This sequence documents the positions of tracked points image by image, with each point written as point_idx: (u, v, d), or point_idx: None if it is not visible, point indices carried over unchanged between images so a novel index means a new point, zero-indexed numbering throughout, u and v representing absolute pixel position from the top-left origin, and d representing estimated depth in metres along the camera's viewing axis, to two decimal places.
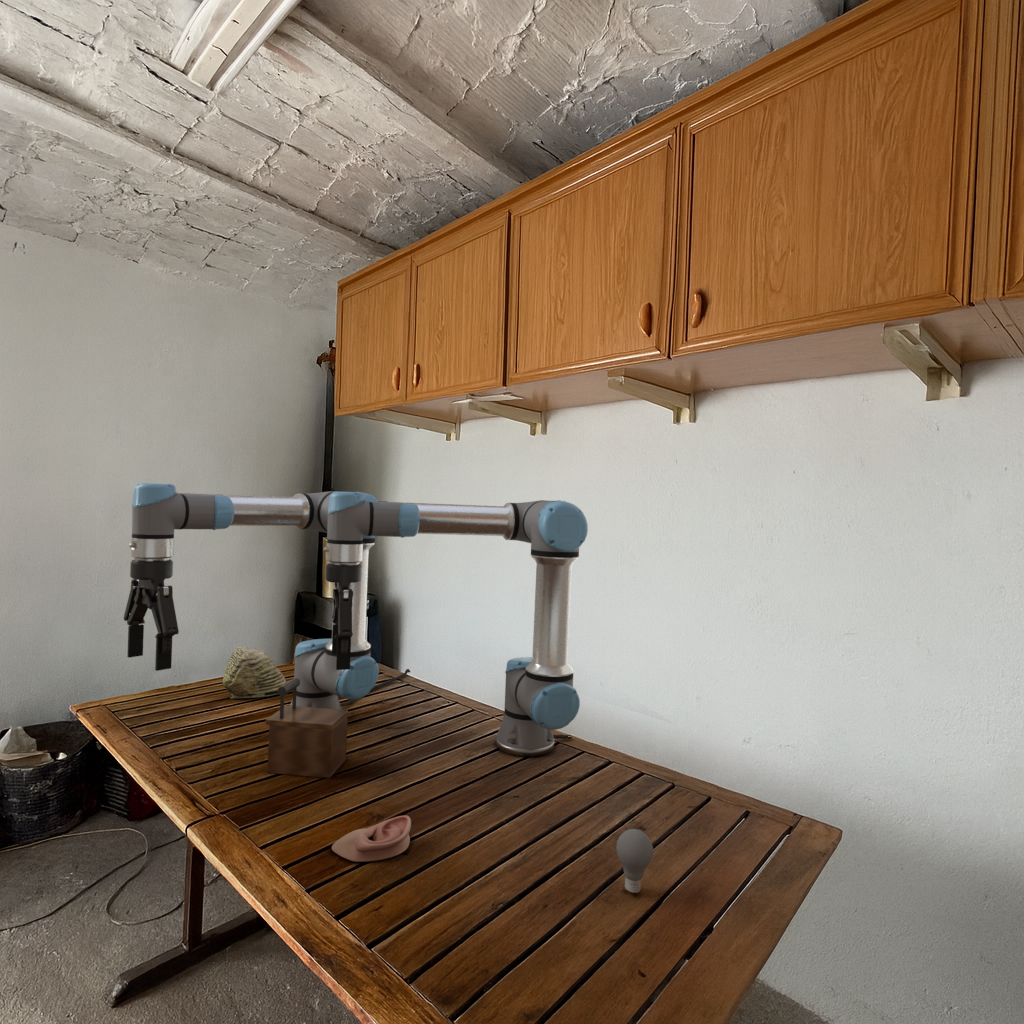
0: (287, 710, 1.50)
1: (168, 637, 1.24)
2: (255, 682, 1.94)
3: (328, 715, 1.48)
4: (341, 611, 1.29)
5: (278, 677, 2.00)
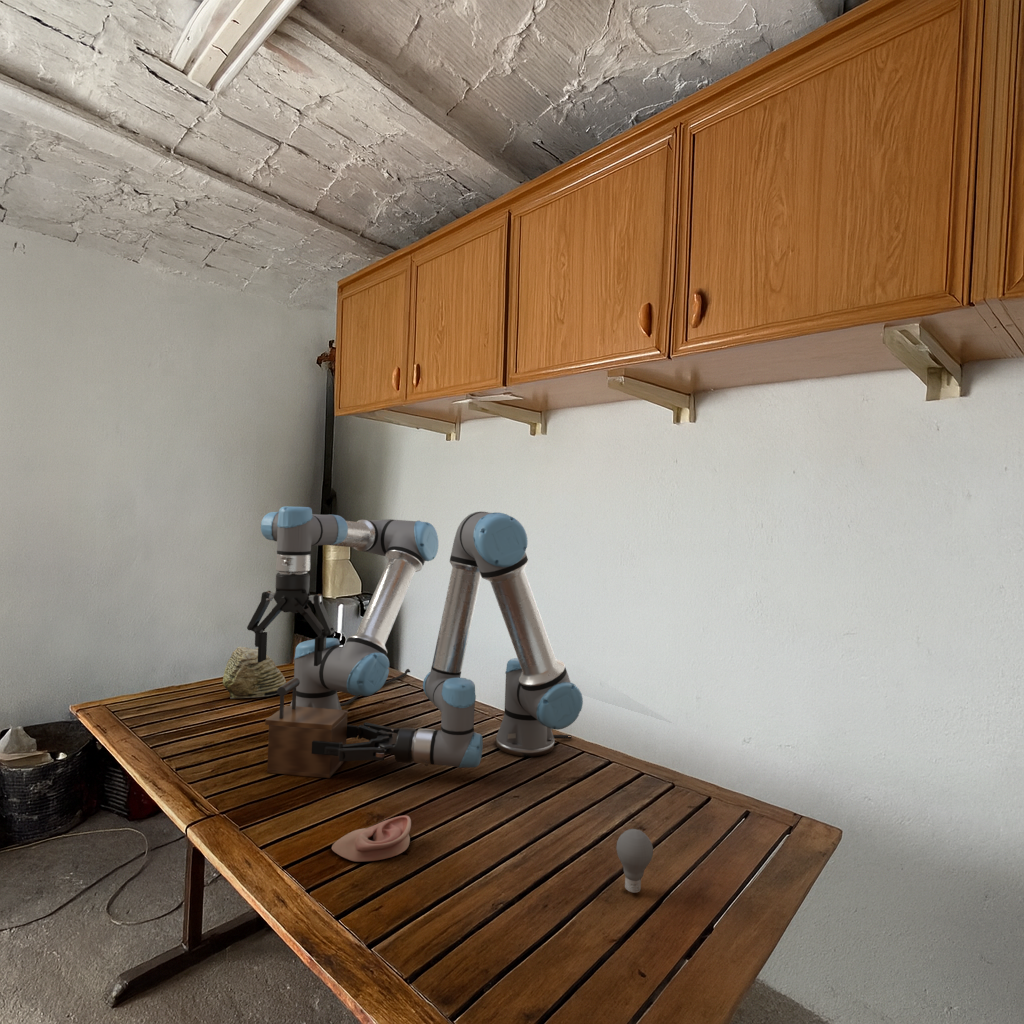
0: (287, 710, 1.50)
1: (325, 636, 1.48)
2: (255, 682, 1.94)
3: (328, 715, 1.48)
4: None
5: (278, 677, 2.00)
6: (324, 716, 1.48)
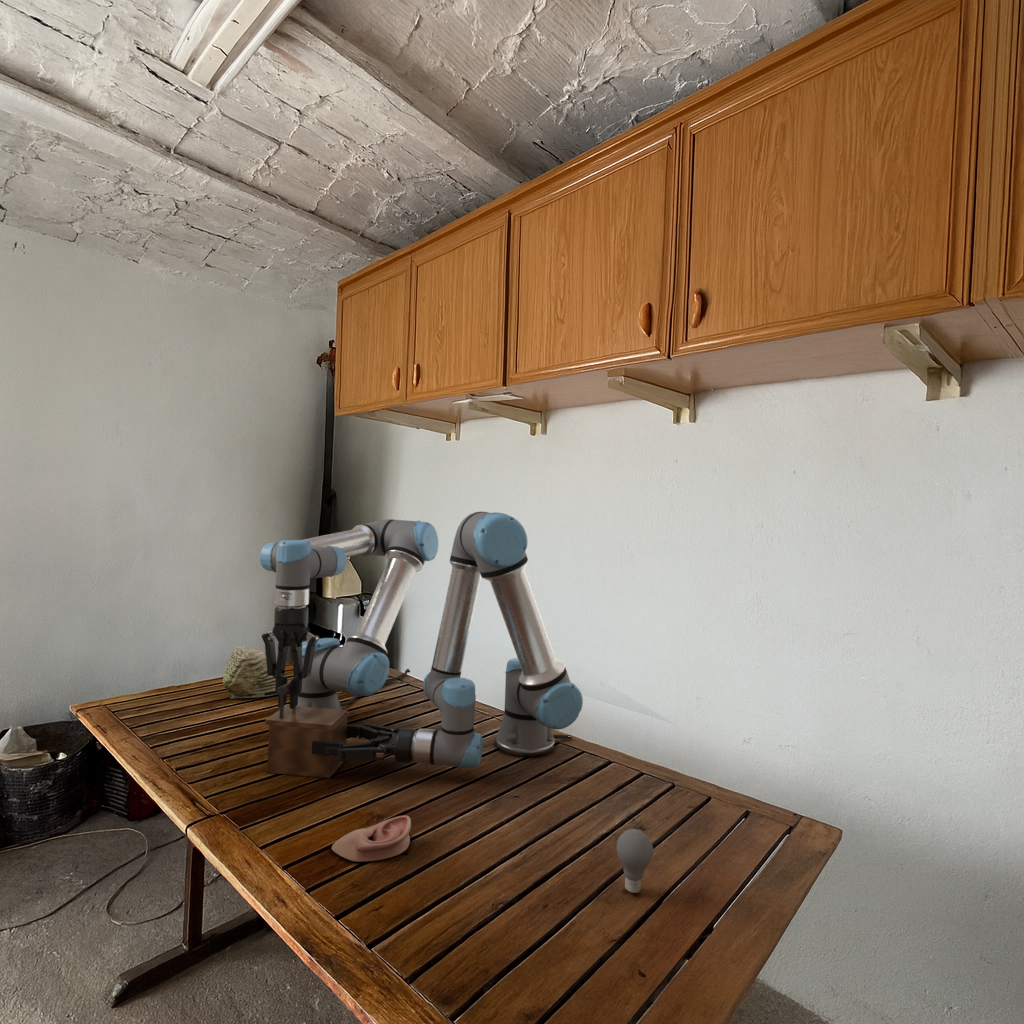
0: (287, 710, 1.50)
1: (301, 679, 1.48)
2: (255, 682, 1.94)
3: (328, 715, 1.48)
4: None
5: None
6: (324, 716, 1.48)
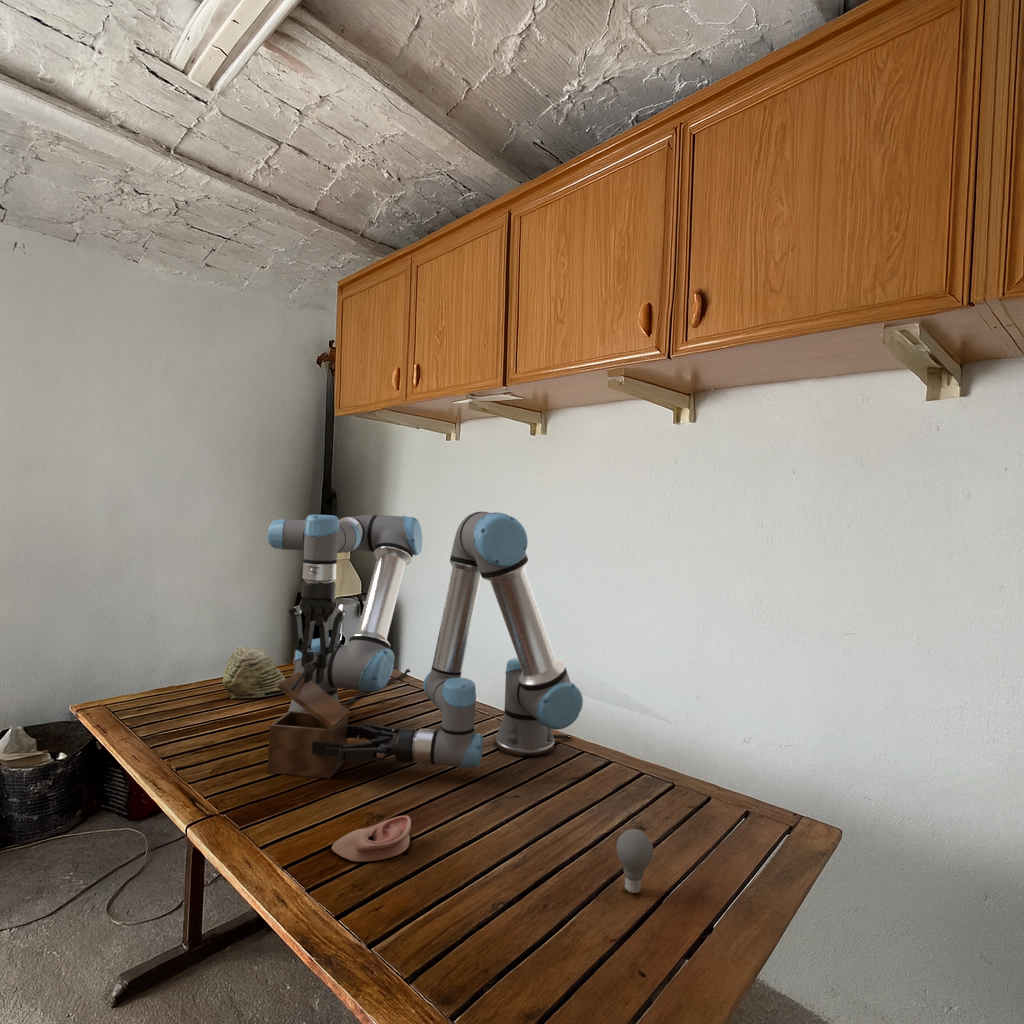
0: None
1: (328, 654, 1.48)
2: (255, 682, 1.94)
3: (332, 709, 1.48)
4: None
5: (278, 677, 2.00)
6: (329, 708, 1.47)
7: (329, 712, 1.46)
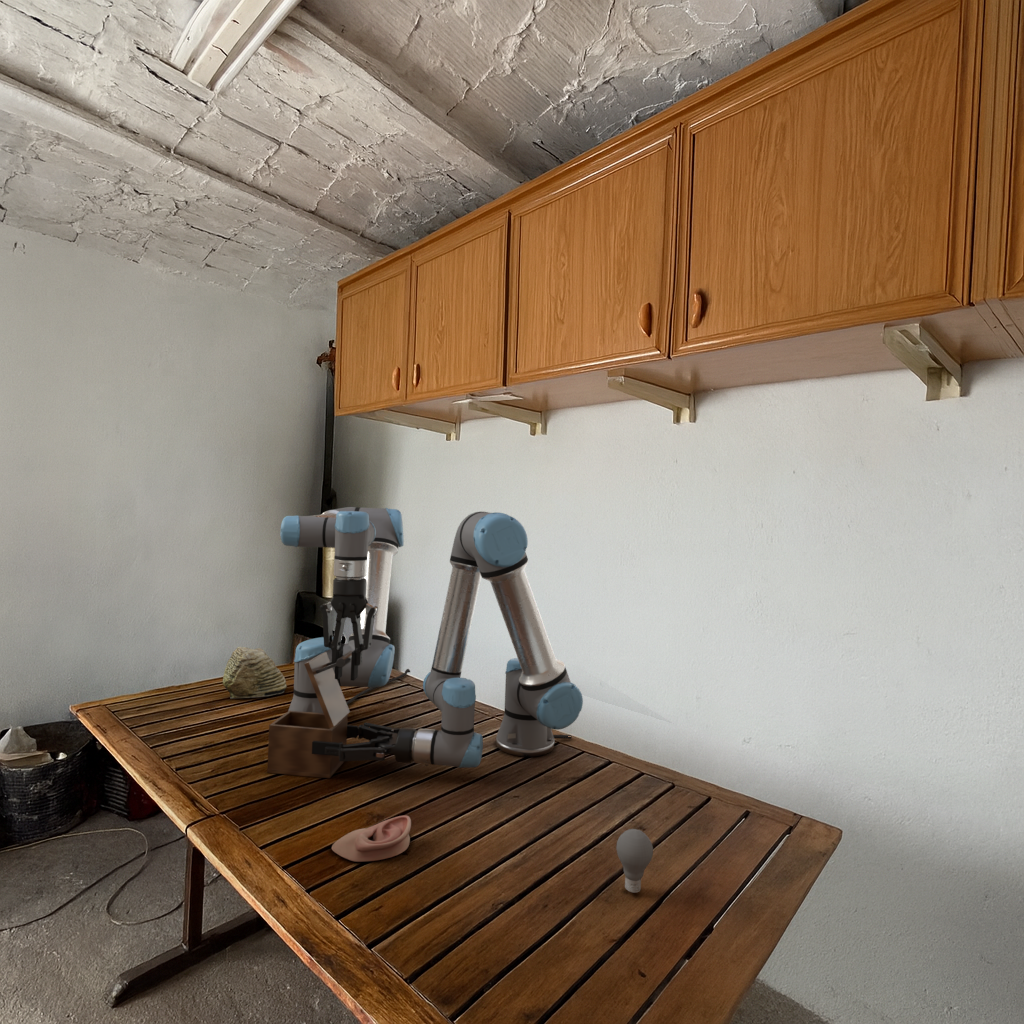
0: (323, 663, 1.49)
1: (362, 651, 1.47)
2: (255, 682, 1.94)
3: (338, 706, 1.48)
4: None
5: (278, 677, 2.00)
6: (336, 704, 1.47)
7: (335, 709, 1.46)
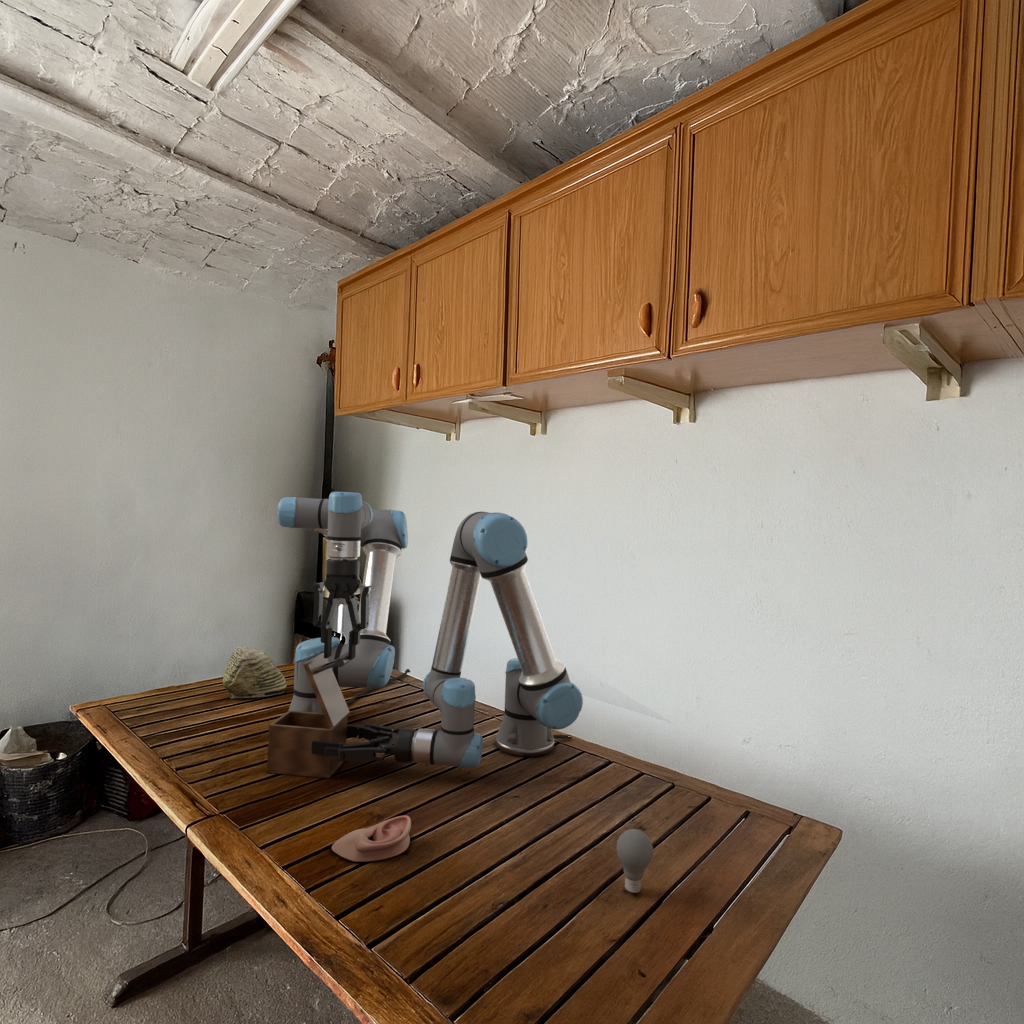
0: (322, 664, 1.49)
1: (360, 630, 1.47)
2: (255, 682, 1.94)
3: (337, 706, 1.48)
4: None
5: (278, 677, 2.00)
6: (335, 704, 1.47)
7: (334, 709, 1.46)
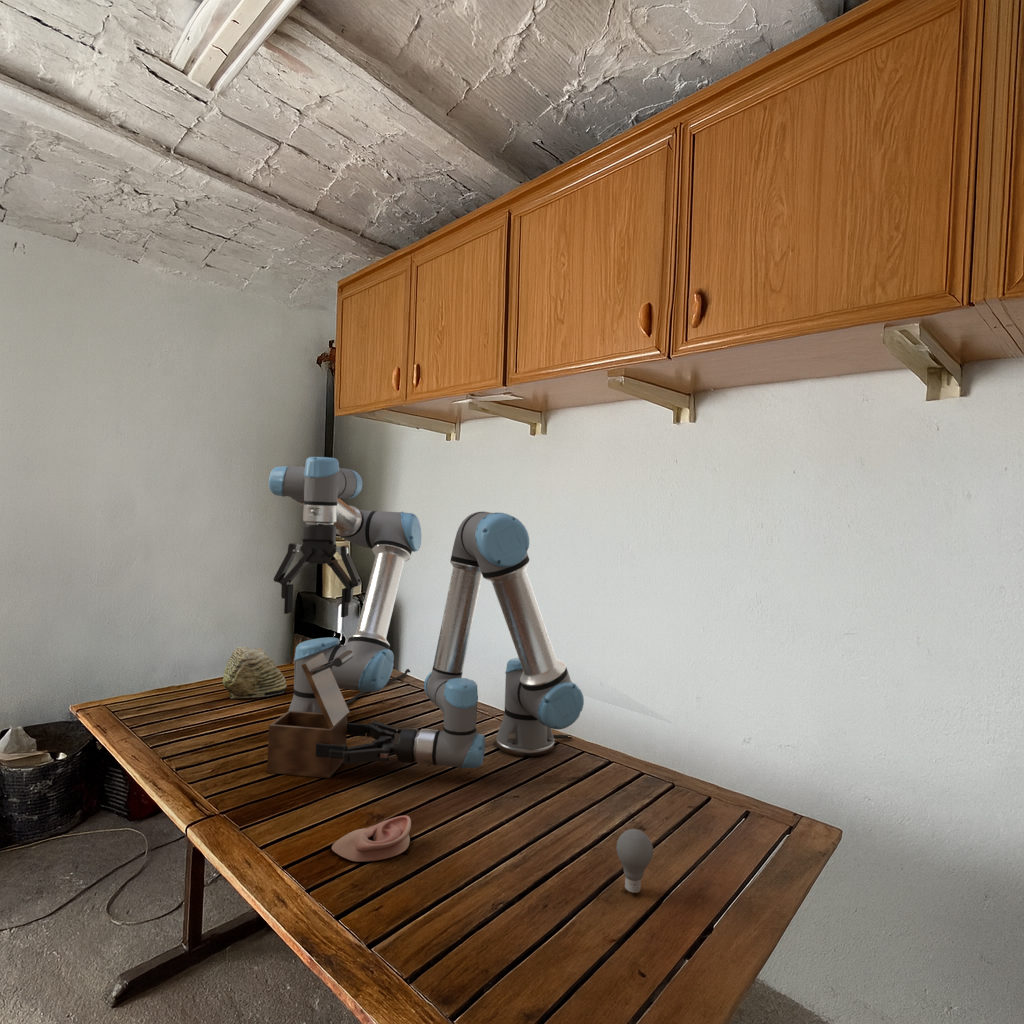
0: (321, 664, 1.49)
1: (352, 588, 1.47)
2: (255, 682, 1.94)
3: (337, 705, 1.48)
4: None
5: (278, 677, 2.00)
6: (335, 704, 1.47)
7: (334, 709, 1.46)
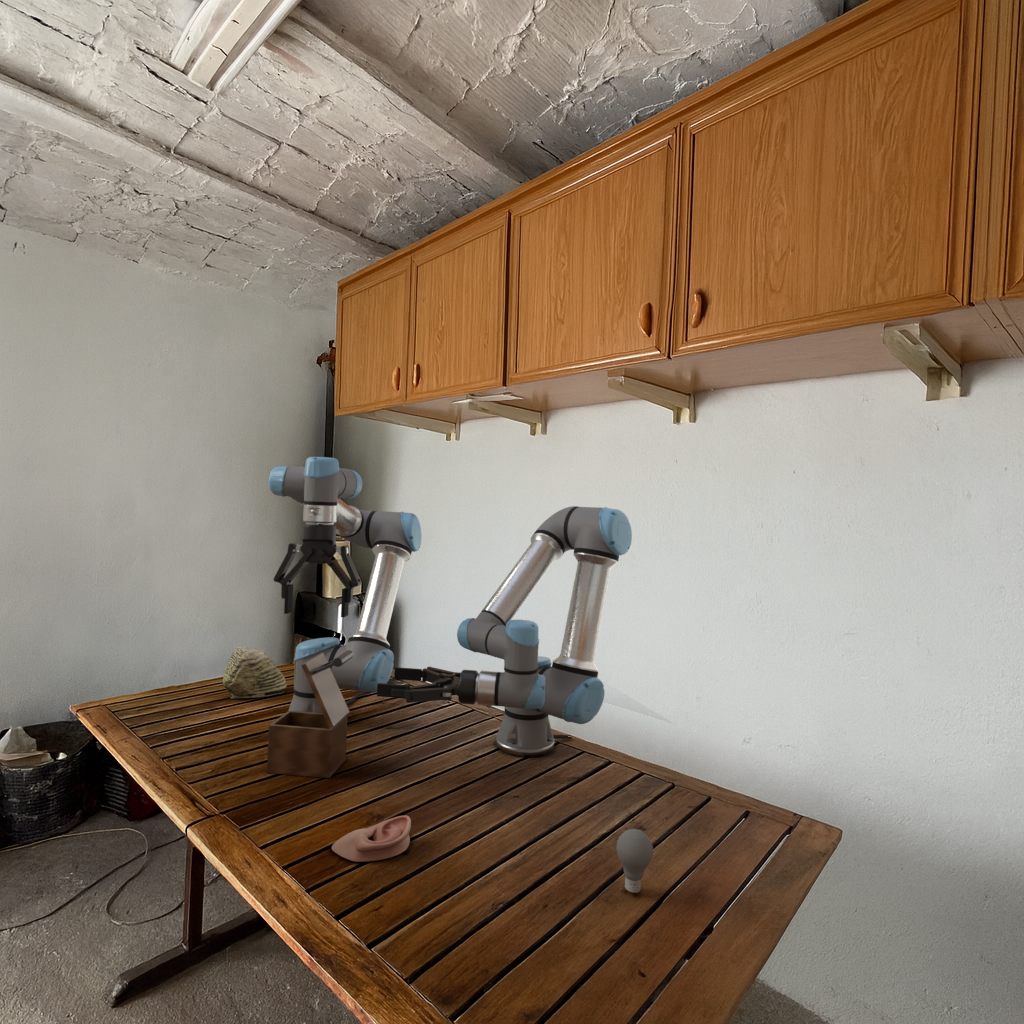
0: (321, 664, 1.49)
1: (352, 588, 1.47)
2: (255, 682, 1.94)
3: (337, 705, 1.48)
4: None
5: (278, 677, 2.00)
6: (335, 704, 1.47)
7: (334, 709, 1.46)
